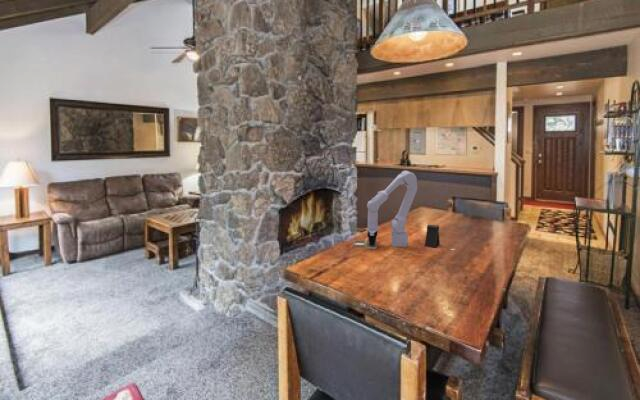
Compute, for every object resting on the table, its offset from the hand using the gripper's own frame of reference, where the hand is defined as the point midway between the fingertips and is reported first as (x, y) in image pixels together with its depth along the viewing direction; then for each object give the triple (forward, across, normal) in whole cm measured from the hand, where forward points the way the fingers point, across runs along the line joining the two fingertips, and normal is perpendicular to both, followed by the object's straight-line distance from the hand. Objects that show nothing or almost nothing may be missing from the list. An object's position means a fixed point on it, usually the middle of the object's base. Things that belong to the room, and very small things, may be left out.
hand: (372, 244), depth 209 cm
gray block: (0, 0, 0) cm, 0 cm away
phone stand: (+2, -10, +34) cm, 36 cm away
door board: (+2, 0, -4) cm, 5 cm away
